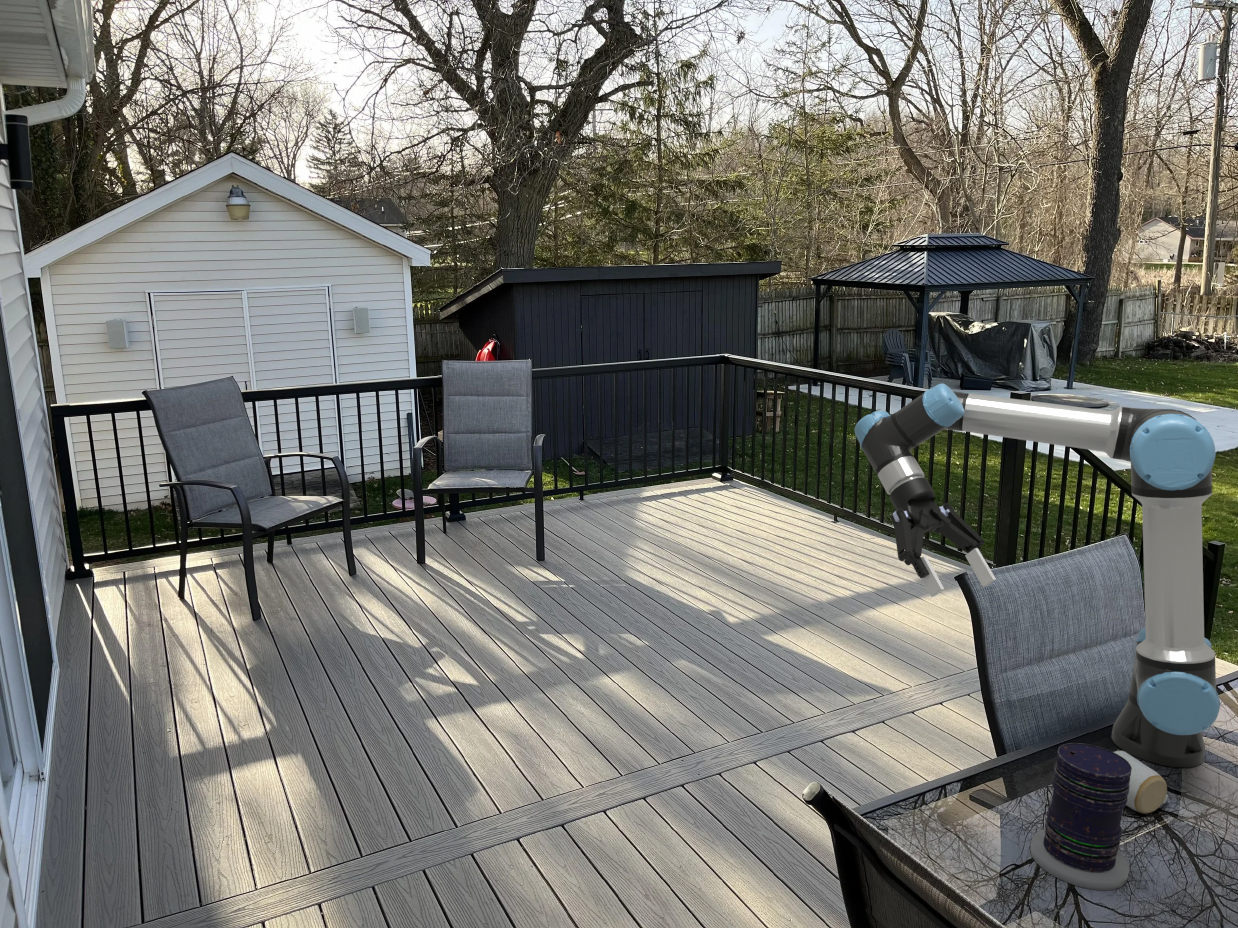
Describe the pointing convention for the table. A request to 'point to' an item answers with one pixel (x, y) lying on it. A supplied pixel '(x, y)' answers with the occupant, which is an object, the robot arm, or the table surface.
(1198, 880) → the table surface
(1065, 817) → the navy cylinder
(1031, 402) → the robot arm
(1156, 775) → the ceramic mug
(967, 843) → the table surface
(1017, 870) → the table surface
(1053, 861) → the grey flat round disc
